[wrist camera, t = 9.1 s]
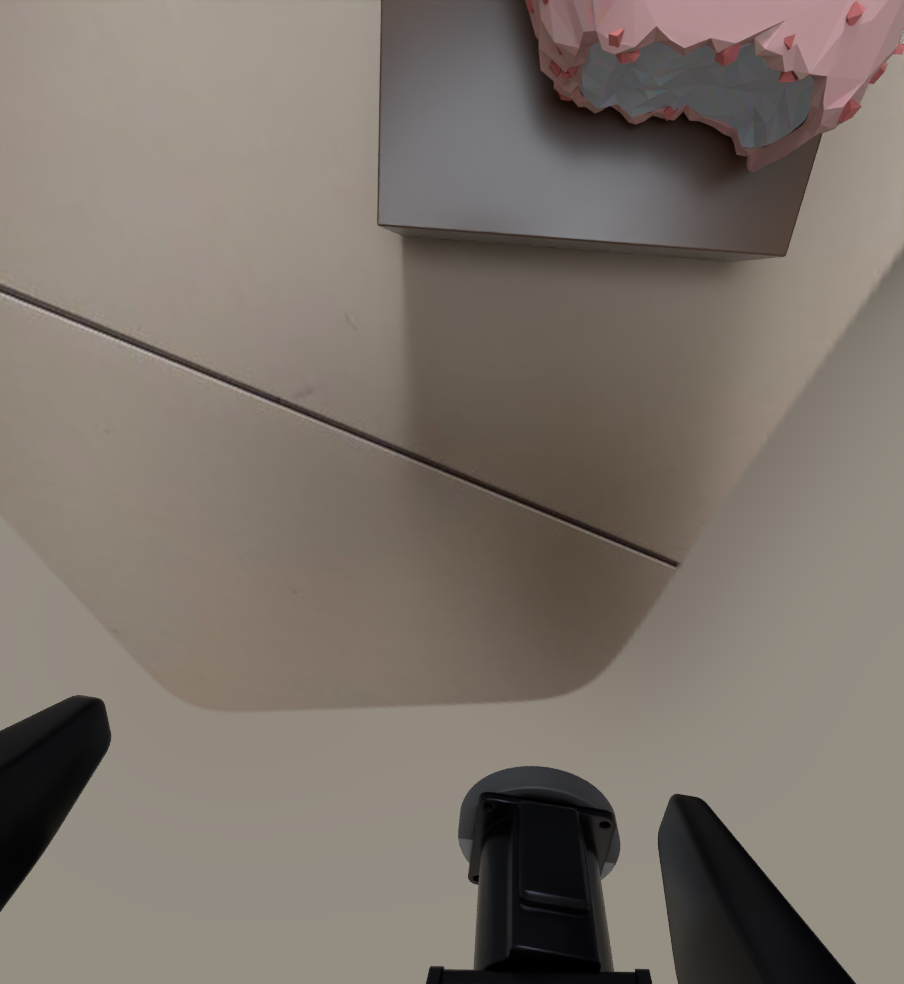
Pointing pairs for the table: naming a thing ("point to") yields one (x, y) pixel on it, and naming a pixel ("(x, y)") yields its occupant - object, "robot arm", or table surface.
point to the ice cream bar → (721, 62)
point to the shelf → (554, 152)
